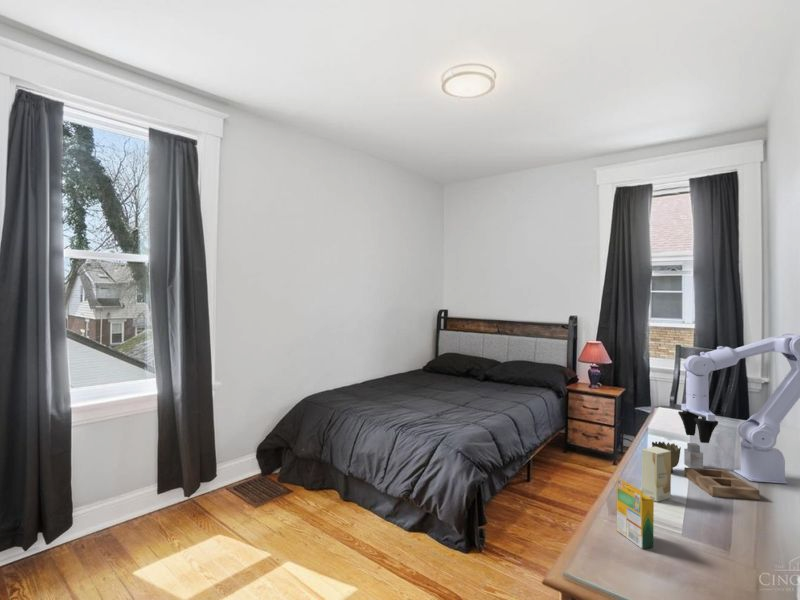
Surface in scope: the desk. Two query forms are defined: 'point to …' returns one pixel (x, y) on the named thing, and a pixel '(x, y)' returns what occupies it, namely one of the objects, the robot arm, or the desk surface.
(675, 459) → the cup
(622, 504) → the crayon box
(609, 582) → the desk surface
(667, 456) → the skincare box
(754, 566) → the desk surface
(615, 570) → the desk surface
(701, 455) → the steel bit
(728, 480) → the socket board
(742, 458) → the robot arm
